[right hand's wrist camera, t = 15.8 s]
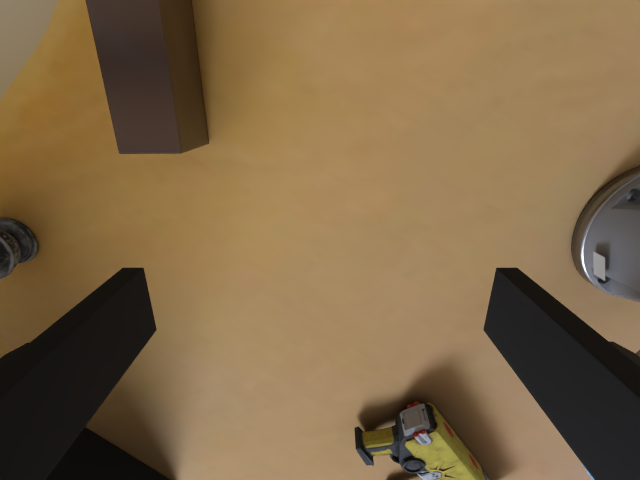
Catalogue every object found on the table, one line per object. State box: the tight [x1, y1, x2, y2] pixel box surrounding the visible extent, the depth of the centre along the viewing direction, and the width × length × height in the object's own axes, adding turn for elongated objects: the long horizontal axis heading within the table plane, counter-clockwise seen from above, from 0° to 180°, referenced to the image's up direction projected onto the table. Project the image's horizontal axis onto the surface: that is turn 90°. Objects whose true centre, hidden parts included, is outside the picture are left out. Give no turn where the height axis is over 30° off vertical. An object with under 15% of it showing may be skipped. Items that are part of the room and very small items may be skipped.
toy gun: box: [355, 402, 489, 480], centre depth 49 cm, size 5×24×15 cm
